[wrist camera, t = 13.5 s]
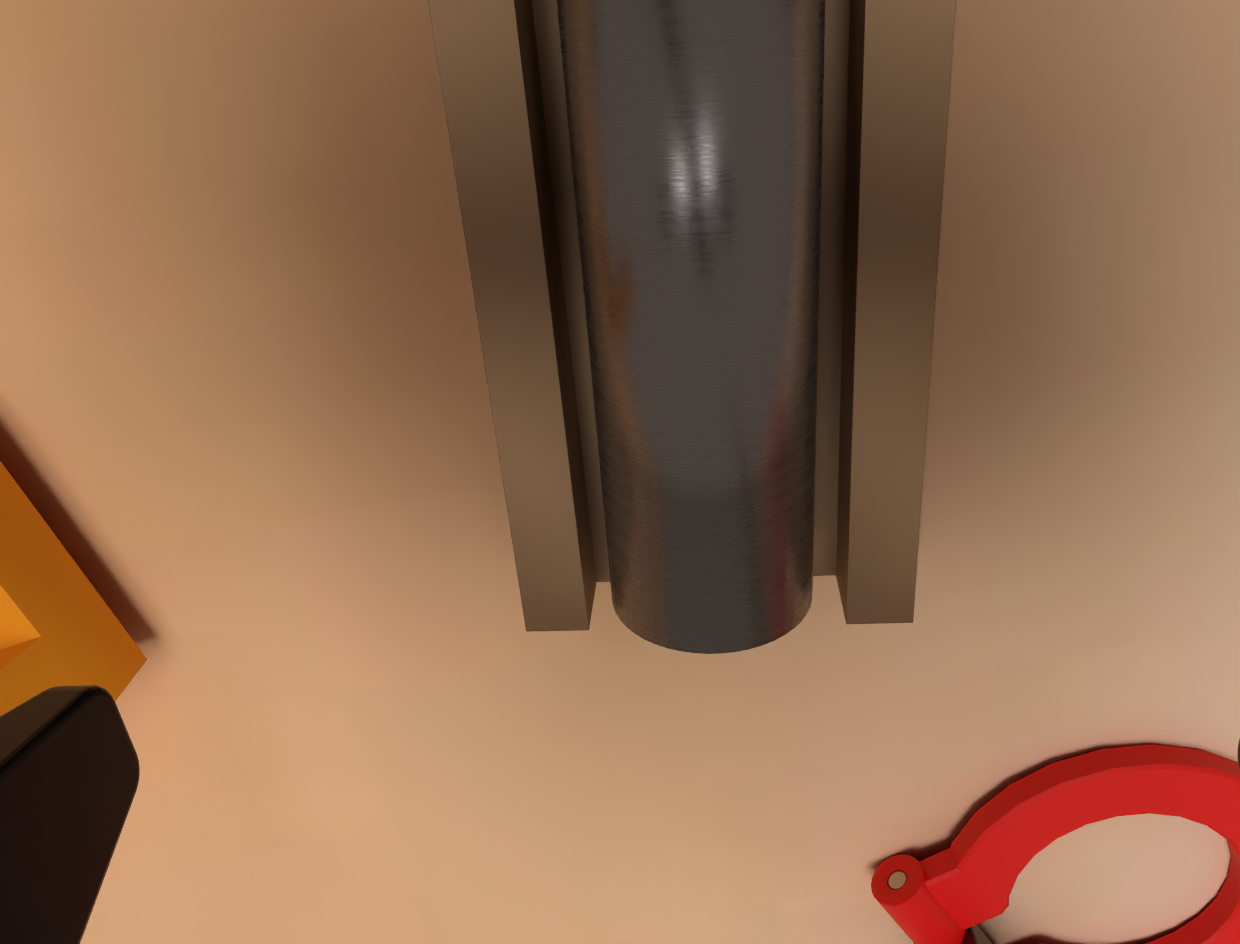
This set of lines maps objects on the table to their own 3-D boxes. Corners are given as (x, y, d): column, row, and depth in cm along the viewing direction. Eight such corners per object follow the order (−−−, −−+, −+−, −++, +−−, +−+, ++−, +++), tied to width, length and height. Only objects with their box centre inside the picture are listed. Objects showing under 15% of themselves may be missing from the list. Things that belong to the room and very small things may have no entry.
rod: (528, -357, 13) (508, -451, 10) (802, -380, 13) (870, -483, 10) (610, 544, 20) (613, 661, 17) (792, 531, 20) (831, 645, 17)
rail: (396, -413, 14) (337, -479, 12) (960, -486, 13) (1014, -573, 11) (535, 556, 21) (516, 631, 19) (899, 545, 21) (924, 622, 18)
